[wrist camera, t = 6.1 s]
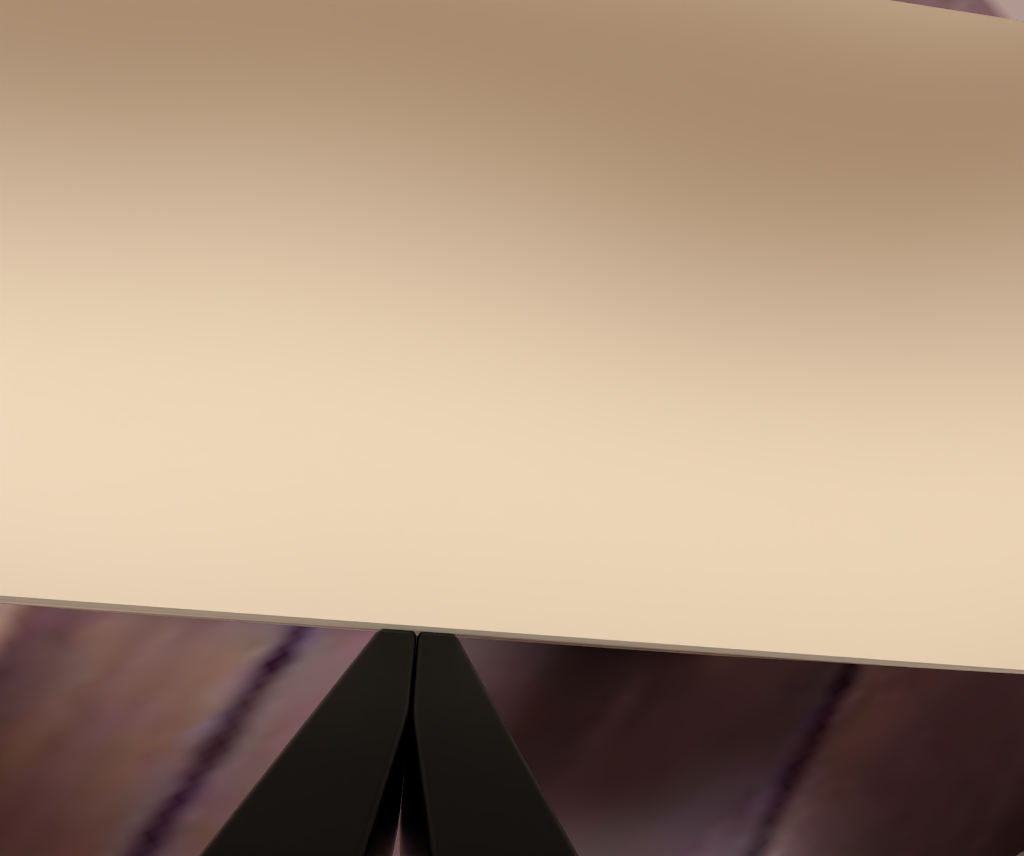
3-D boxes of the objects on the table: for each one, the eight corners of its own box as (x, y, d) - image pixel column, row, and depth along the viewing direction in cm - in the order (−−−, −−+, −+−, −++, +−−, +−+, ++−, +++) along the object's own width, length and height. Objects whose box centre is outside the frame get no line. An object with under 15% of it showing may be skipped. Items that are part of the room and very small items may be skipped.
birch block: (705, 655, 17) (1337, 693, 5) (106, 611, 16) (-742, 540, 4) (706, 423, 18) (1218, 52, 7) (153, 368, 17) (-394, -201, 5)
